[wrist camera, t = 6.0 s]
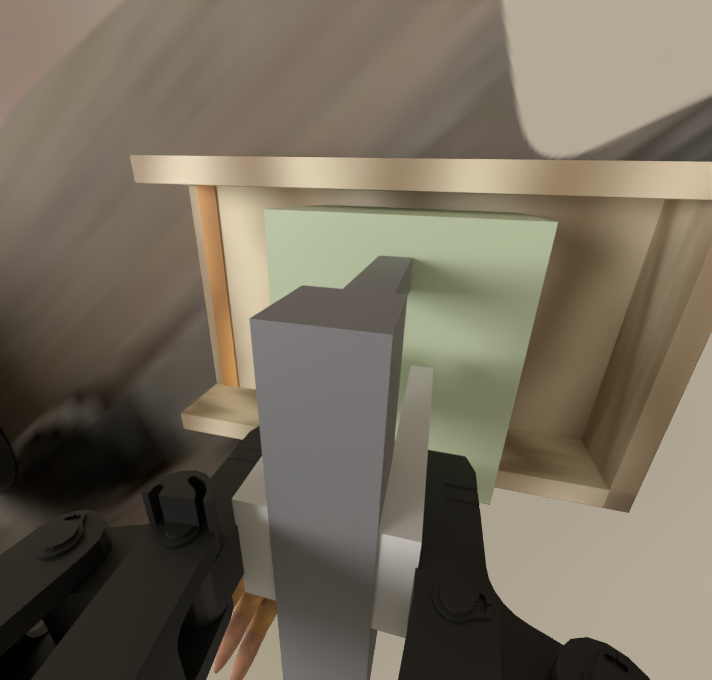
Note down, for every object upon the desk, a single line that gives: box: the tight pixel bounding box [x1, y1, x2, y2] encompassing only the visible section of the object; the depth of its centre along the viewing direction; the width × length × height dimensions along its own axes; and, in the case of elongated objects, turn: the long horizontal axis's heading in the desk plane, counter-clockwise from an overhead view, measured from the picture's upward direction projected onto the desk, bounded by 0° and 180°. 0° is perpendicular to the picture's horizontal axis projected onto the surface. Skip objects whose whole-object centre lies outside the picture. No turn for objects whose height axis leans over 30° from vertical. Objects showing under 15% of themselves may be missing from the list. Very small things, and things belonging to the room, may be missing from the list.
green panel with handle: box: [249, 205, 558, 680], centre depth 14 cm, size 10×12×16 cm
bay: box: [130, 155, 712, 512], centre depth 20 cm, size 26×16×5 cm, turn 89°
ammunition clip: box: [214, 440, 277, 680], centre depth 25 cm, size 11×2×12 cm, turn 25°
